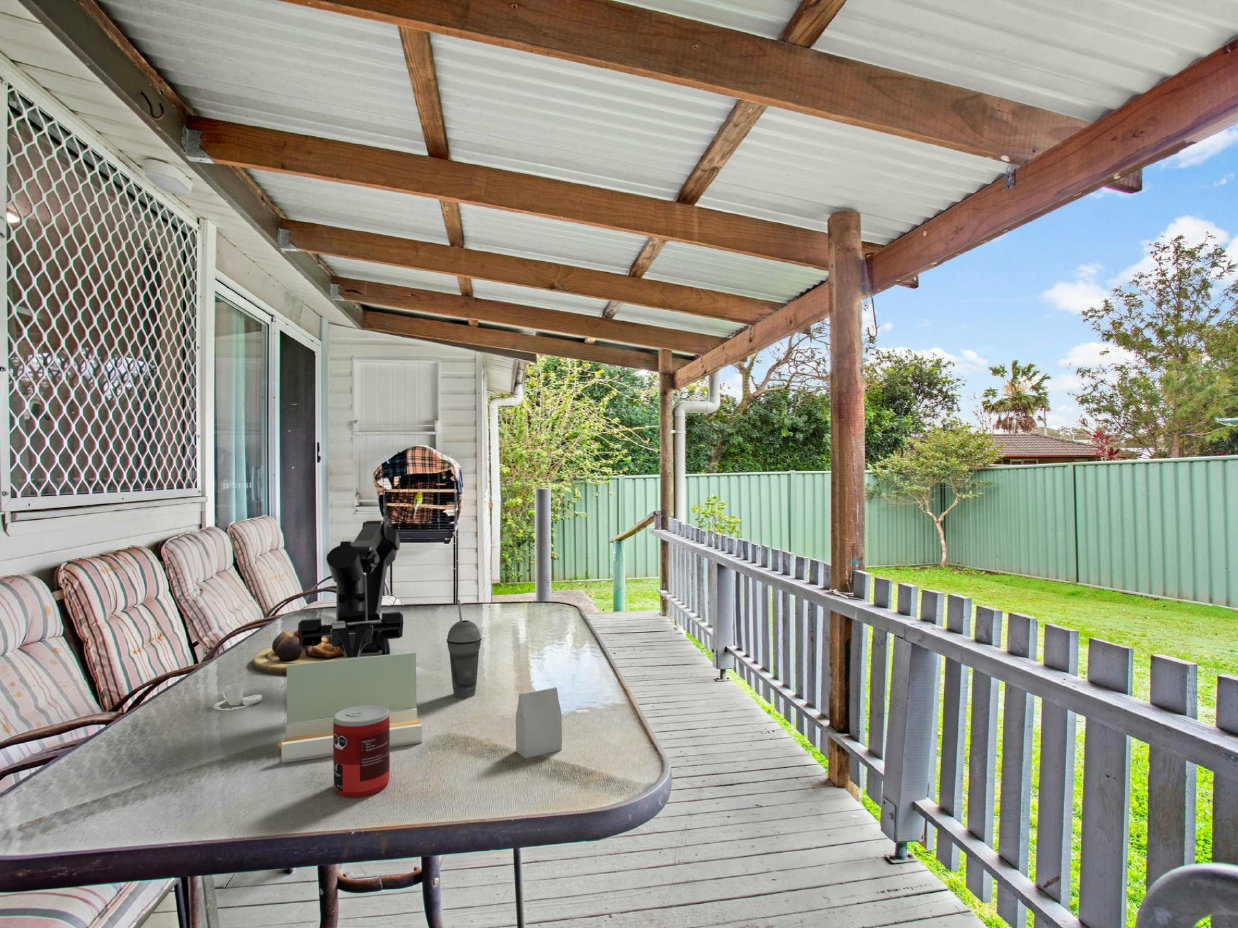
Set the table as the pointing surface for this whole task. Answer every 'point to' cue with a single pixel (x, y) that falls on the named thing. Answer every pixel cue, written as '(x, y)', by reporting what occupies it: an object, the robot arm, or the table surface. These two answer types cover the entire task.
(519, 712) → the grey gable bag
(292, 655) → the wooden plate with food
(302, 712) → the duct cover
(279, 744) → the orange rounded bar
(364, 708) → the canned food
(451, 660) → the beverage cup
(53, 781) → the table surface
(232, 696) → the teacup and saucer
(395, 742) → the cable duct
